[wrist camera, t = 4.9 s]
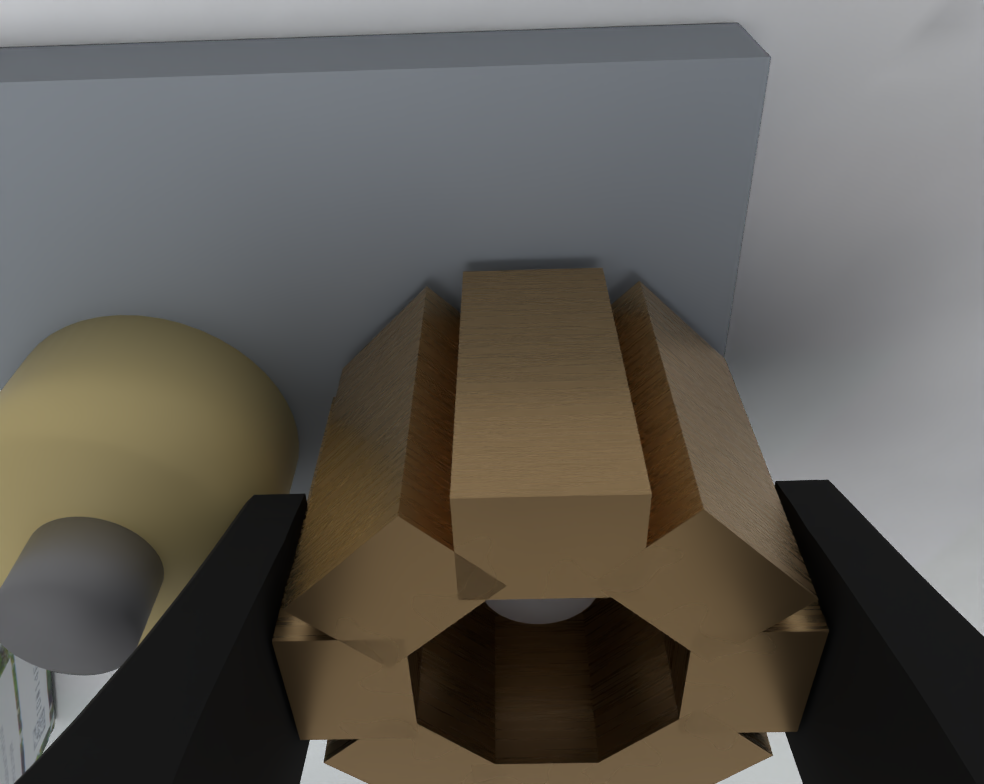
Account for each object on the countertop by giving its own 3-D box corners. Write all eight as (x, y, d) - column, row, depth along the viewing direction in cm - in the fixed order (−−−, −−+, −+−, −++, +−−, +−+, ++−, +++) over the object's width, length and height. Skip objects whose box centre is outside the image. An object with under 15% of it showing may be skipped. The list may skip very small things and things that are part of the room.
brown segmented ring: (756, 263, 10) (873, 488, 7) (704, 568, 14) (769, 818, 10) (312, 276, 11) (231, 502, 7) (364, 575, 14) (324, 825, 10)
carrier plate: (738, 23, 11) (893, 183, 7) (666, 574, 16) (723, 839, 12) (-68, 50, 11) (-403, 225, 7) (147, 588, 17) (39, 852, 13)
